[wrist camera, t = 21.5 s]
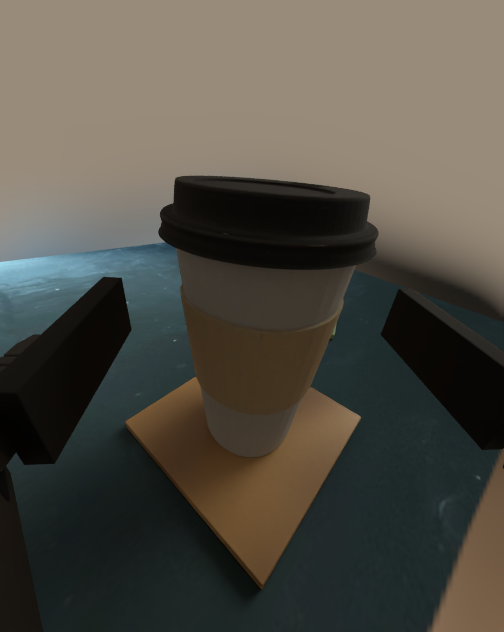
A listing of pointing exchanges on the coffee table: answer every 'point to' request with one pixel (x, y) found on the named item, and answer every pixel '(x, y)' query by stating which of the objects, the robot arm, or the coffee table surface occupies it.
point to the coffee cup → (262, 293)
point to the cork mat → (245, 471)
